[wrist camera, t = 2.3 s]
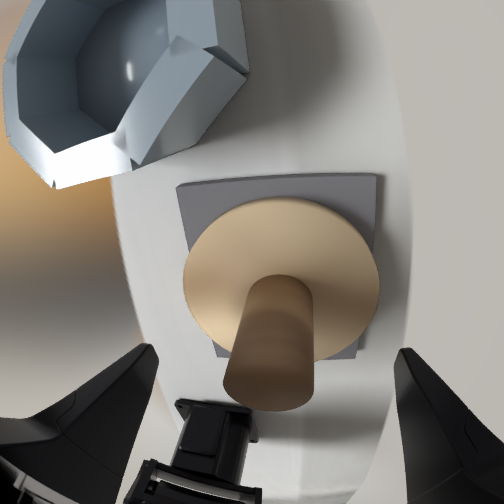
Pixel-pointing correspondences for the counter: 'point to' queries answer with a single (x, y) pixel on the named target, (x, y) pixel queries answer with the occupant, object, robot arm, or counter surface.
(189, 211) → the mat
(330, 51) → the counter surface
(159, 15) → the bowl
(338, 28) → the counter surface
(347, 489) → the counter surface
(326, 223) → the lid
